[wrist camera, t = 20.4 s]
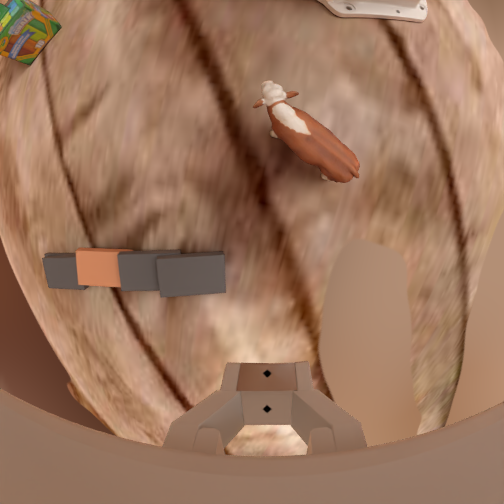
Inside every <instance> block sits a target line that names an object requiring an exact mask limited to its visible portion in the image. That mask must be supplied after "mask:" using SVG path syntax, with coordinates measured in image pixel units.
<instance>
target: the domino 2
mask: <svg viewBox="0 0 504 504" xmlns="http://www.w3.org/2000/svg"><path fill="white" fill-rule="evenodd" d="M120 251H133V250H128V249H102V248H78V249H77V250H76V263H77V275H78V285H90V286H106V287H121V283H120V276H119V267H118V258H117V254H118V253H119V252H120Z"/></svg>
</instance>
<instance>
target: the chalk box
mask: <svg viewBox="0 0 504 504" xmlns="http://www.w3.org/2000/svg"><path fill="white" fill-rule="evenodd" d="M59 29H61V25H60V24H59V23H58V22H57V21H56V19H55V18H54V17H53V16H52V15H51V14H50V13H49V12H48V11H46V10H45V9H43V8H42V7H40V6H38V5H37V4H35V3H33V2H32V1H30V0H8V2H7V3H6V4H5V5H3V4H1V3H0V55H2V56H5V57H8V58H11V59H14V60H16V61H19V62H22V63H25V64H27V65H31V63H32V62H33V60H34V59H35V58H36V56H37V55H38V54H39V53H40V51H41V50H42V49H43V48H44V47H45V45H46V44H47V43H48V42H49V41H50V39H51V38H52V37H53V36H54V35H55V34H56V33H57V32H58V30H59Z"/></svg>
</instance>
